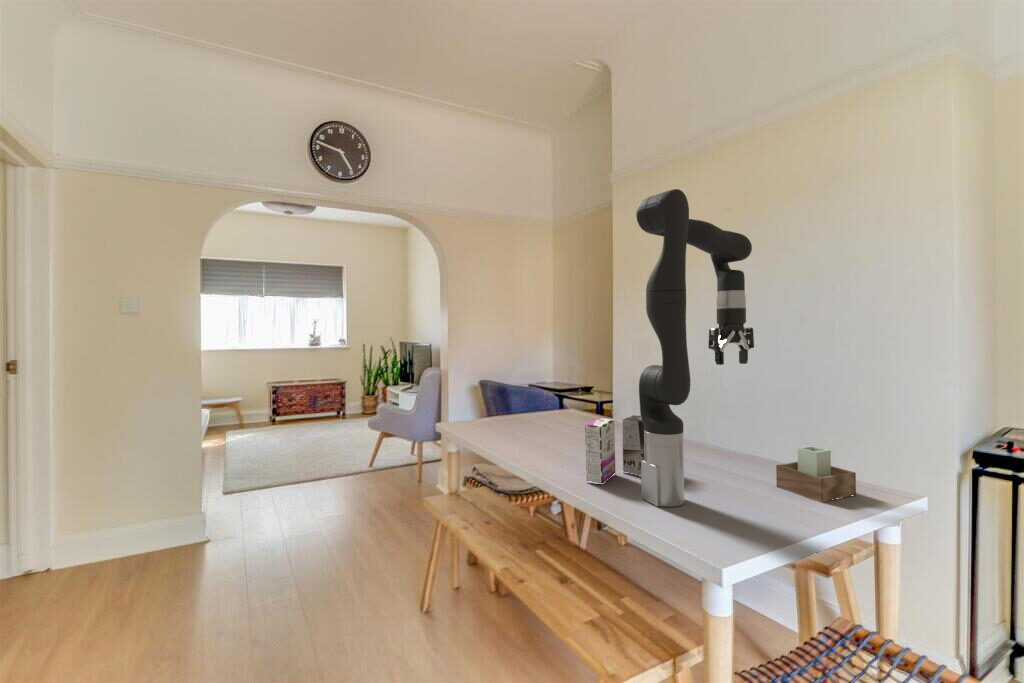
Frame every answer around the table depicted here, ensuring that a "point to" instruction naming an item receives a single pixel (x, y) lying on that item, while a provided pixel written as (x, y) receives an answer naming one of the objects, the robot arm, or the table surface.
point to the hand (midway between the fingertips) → (731, 364)
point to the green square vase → (814, 461)
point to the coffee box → (633, 444)
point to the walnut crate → (816, 482)
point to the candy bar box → (600, 450)
